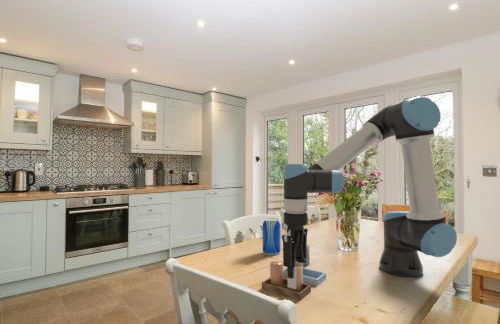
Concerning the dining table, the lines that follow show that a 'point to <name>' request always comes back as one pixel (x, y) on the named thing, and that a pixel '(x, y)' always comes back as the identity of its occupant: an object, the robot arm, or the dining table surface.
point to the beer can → (271, 237)
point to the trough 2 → (309, 276)
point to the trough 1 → (286, 289)
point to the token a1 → (276, 273)
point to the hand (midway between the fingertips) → (295, 284)
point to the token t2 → (298, 279)
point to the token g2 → (307, 257)
